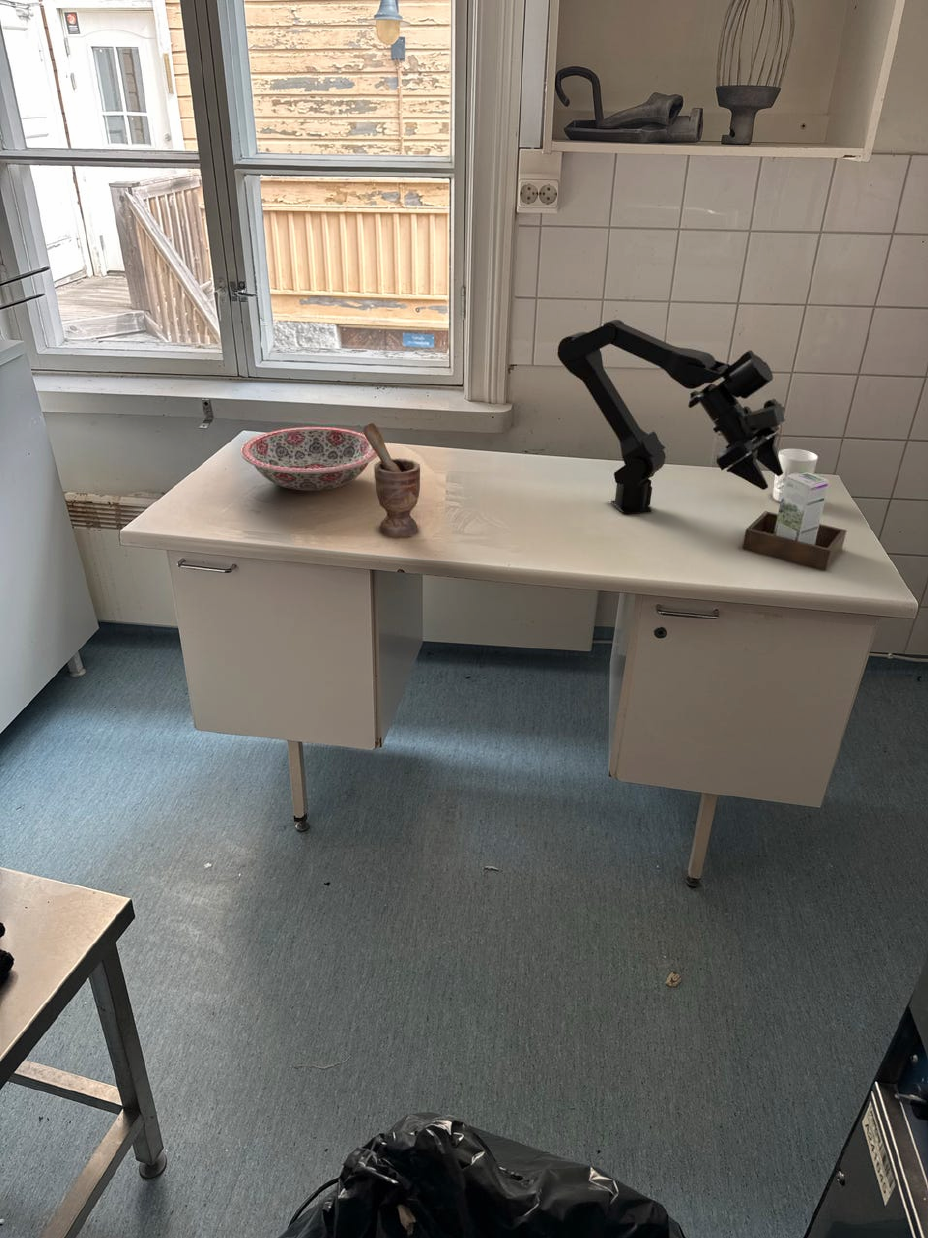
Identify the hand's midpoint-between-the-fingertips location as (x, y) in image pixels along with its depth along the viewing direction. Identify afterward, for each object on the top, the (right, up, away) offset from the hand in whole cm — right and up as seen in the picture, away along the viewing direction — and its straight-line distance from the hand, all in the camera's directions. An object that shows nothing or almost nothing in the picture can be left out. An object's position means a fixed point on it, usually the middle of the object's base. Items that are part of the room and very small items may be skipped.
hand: (773, 481), depth 169 cm
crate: (+5, -12, +3) cm, 14 cm away
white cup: (+12, 0, +26) cm, 29 cm away
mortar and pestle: (-72, -8, +6) cm, 73 cm away
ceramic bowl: (-91, +3, +26) cm, 94 cm away
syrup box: (+5, -13, +3) cm, 14 cm away
